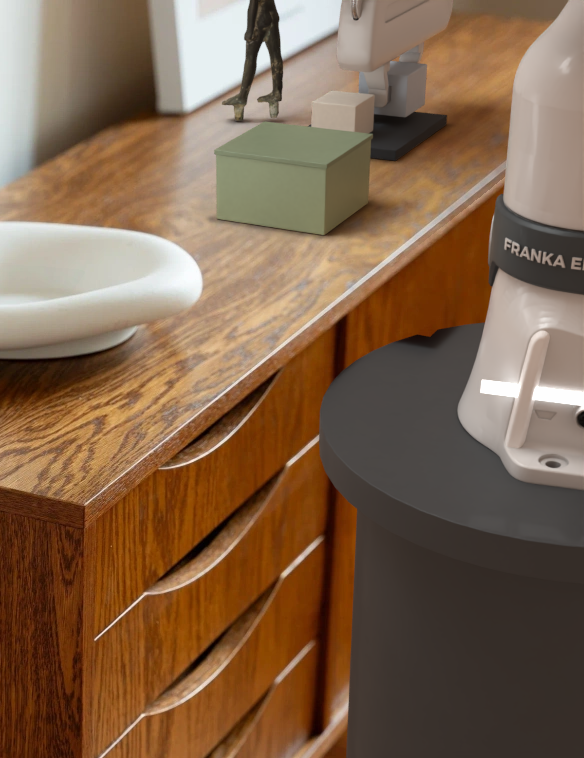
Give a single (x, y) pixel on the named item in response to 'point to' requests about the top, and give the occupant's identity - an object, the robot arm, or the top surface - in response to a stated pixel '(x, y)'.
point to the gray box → (402, 88)
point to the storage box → (293, 177)
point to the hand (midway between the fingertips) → (392, 97)
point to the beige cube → (344, 111)
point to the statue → (258, 31)
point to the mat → (402, 133)
